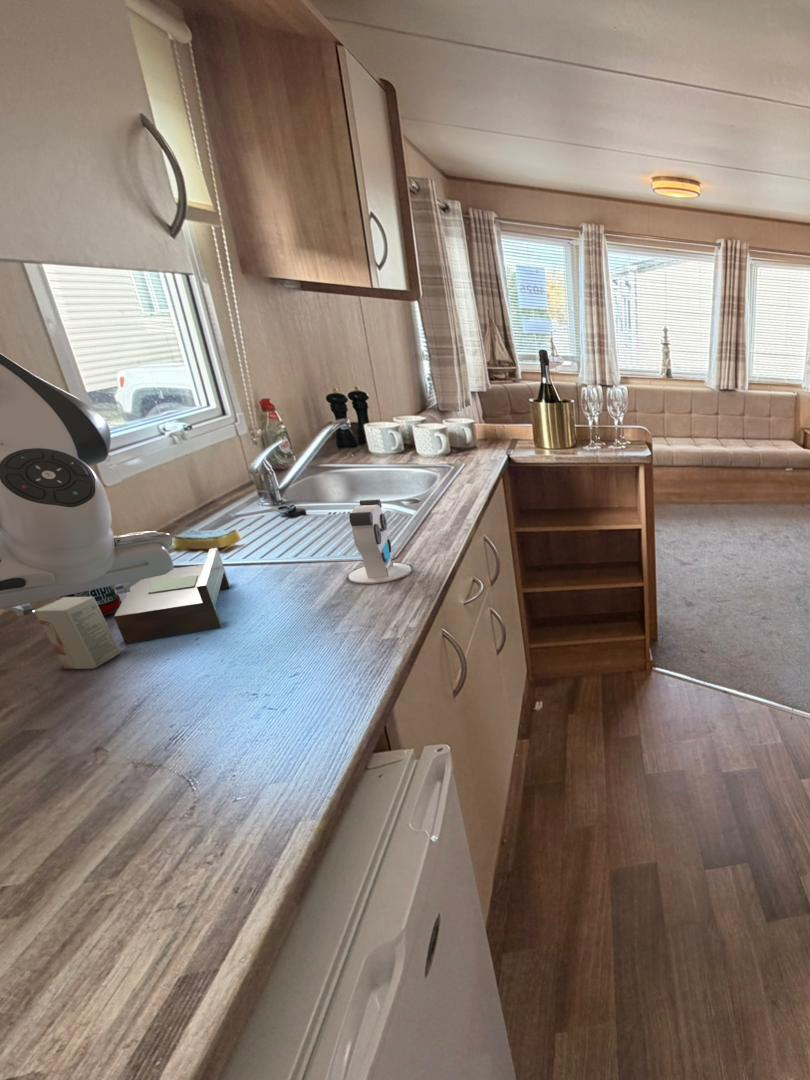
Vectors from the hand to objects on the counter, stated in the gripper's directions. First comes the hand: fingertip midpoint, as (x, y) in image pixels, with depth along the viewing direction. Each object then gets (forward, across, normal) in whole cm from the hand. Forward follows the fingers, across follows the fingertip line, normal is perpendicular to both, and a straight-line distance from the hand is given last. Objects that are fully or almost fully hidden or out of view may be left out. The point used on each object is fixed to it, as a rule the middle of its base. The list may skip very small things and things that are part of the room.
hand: (74, 599), depth 89 cm
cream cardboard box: (+16, 0, +3) cm, 17 cm away
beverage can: (+32, -5, -13) cm, 35 cm away
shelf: (+24, -14, -6) cm, 29 cm away
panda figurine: (+20, -44, 0) cm, 49 cm away
